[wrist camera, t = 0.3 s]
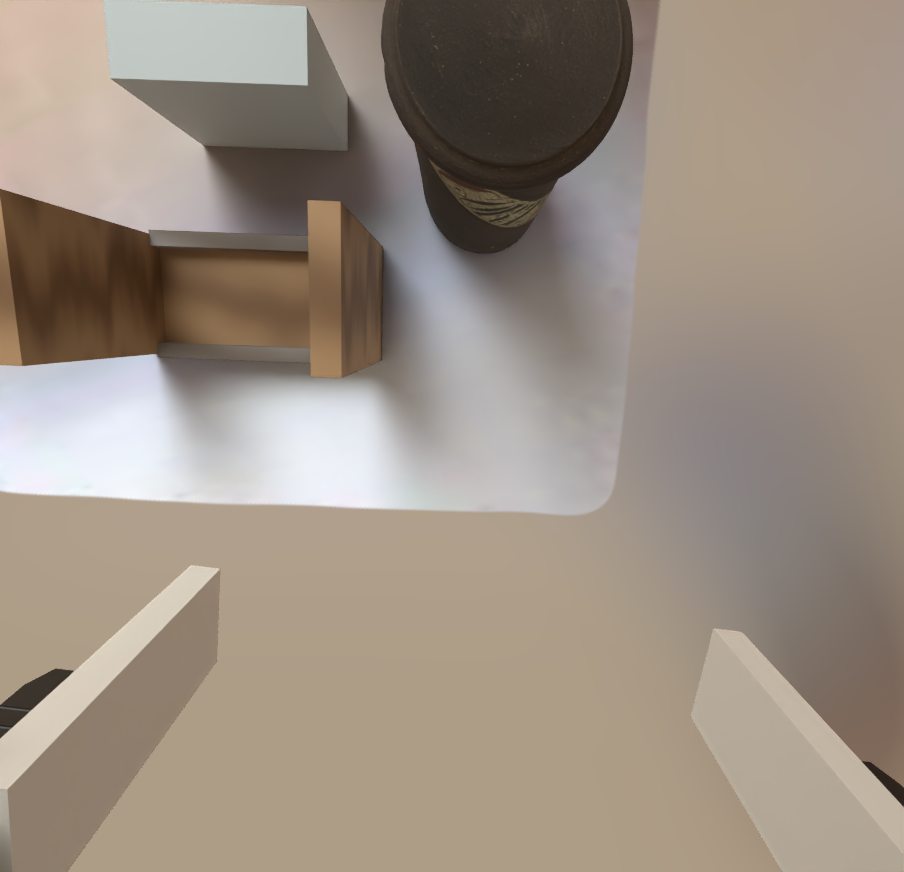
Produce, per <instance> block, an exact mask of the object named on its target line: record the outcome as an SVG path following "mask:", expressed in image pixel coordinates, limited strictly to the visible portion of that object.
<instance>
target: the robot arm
mask: <svg viewBox="0 0 904 872" xmlns="http://www.w3.org/2000/svg"><path fill="white" fill-rule="evenodd" d="M219 591H220V569H219V568H209V567H202V566H194V565H191V566H190V567H188V569H186V570H185V571H184V572H183V573H182V574H181V575H180V576H179V577H177V579H175V580H174V581H173V582H172V583H171V584H170V585H169V586H168V587H167V588H165V589H164V590H163V591H162V592H161V593H160V594H159V595H158V596H157V597H156V598H155V599H153V600H152V601H151V602H150V603H149V604H148V605H147V606H146V607H144V609H142V610H141V611H140V612H139V613H138V614H137V615H136V616H135V617H133V618H132V619H131V620H130V621H129V622H128V623H127V624H126V625H125V626H124V627H123V628H121V629H120V630H119V631H118V632H117V633H116V634H115V635H114V636H113V637H111V639H109V640H108V641H107V642H106V643H105V644H104V645H103V646H102V647H101V648H99V649H98V650H97V651H96V652H95V653H94V654H93V655H92V656H91V657H90V658H88V659H87V660H86V661H85V662H84V663H83V664H82V665H81V666H80V667H79V668H78V669H77V670H75V671H71V670H63V669H54V670H52V671H50V672H48V673H46V674H45V675H43V676H41V677H39V678H37V679H35V680H33V681H31V682H29V683H27V684H25V685H24V686H22V687H21V688H20V689H19V690H18V691H16V692H15V693H14V694H13V695H12V696H11V697H9V698H8V699H7V700H6V701H5V702H3V703H2V704H1V705H0V872H68V870H69V869H70V867H71V866H72V865H73V863H74V862H75V860H76V859H77V858H78V856H79V855H80V853H81V852H82V851H83V849H84V848H85V846H86V845H87V844H88V842H89V841H90V839H91V838H92V837H93V835H94V834H95V832H96V831H97V830H98V828H99V827H100V825H101V824H102V822H103V821H104V820H105V818H106V817H107V815H108V814H109V813H110V811H111V810H112V808H113V807H114V806H115V804H116V803H117V801H118V800H119V798H120V797H121V796H122V794H123V793H124V791H125V790H126V789H127V787H128V786H129V784H130V783H131V782H132V780H133V779H134V777H135V776H136V775H137V773H138V772H139V770H140V769H141V768H142V766H143V765H144V763H145V762H146V760H147V759H148V758H149V756H150V755H151V753H152V752H153V751H154V749H155V748H156V746H157V745H158V744H159V742H160V741H161V739H162V738H163V737H164V735H165V734H166V732H167V731H168V730H169V728H170V727H171V725H172V724H173V723H174V721H175V720H176V718H177V717H178V715H179V714H180V713H181V711H182V710H183V708H184V707H185V706H186V704H187V703H188V701H189V700H190V699H191V697H192V696H193V694H194V693H195V692H196V690H197V689H198V687H199V686H200V684H201V683H202V682H203V680H204V679H205V677H206V676H207V675H208V673H209V672H210V670H211V669H212V668H213V666H214V665H215V663H216V662H217V646H218V619H219ZM691 719H692V721H693V722H694V724H695V725H696V727H697V729H698V731H699V732H700V734H701V736H702V737H703V739H704V741H705V743H706V744H707V746H708V748H709V749H710V751H711V753H712V754H713V756H714V758H715V759H716V761H717V762H718V764H719V766H720V768H721V769H722V771H723V773H724V775H725V776H726V778H727V779H728V781H729V783H730V785H731V786H732V788H733V790H734V791H735V793H736V795H737V796H738V798H739V800H740V802H741V803H742V805H743V807H744V808H745V810H746V812H747V813H748V815H749V817H750V818H751V820H752V822H753V823H754V825H755V826H756V828H757V830H758V832H759V834H760V835H761V837H762V839H763V840H764V842H765V844H766V845H767V847H768V849H769V850H770V852H771V854H772V855H773V857H774V859H775V860H776V862H777V864H778V866H779V867H780V869H781V871H782V872H904V788H903V787H902V786H901V785H900V784H899V783H897V782H896V781H895V780H894V779H892V778H891V777H890V776H888V775H887V774H885V773H884V772H883V771H881V770H880V769H879V768H877V767H876V766H875V765H873V764H872V763H870V762H864V761H861V760H860V759H859V758H858V757H857V756H856V755H855V754H854V753H853V752H852V751H851V750H850V749H849V747H847V745H846V744H845V743H844V742H843V741H842V740H841V739H840V738H839V737H838V736H837V735H836V733H835V732H834V731H833V730H832V729H831V728H830V727H829V726H828V725H827V724H826V723H825V721H823V719H822V718H821V717H820V716H819V715H818V714H817V713H816V712H815V711H814V710H813V709H812V707H811V706H810V705H809V704H808V703H807V702H806V701H805V700H804V699H803V698H802V697H801V695H800V694H799V693H798V692H797V691H796V690H795V689H794V688H793V687H792V686H791V685H790V684H789V682H788V681H787V680H786V679H785V678H784V677H783V676H782V675H781V674H780V673H779V672H778V671H777V669H775V667H774V666H773V665H772V664H771V663H770V662H769V661H768V660H767V659H766V658H765V656H764V655H763V654H762V653H761V652H760V651H759V650H758V649H757V648H756V647H755V646H754V645H753V644H752V643H751V641H750V640H749V639H748V638H747V637H746V636H745V635H744V634H743V633H742V632H739V631H731V630H723V629H715V628H714V629H713V632H712V636H711V640H710V644H709V648H708V652H707V655H706V659H705V663H704V667H703V671H702V674H701V678H700V682H699V686H698V690H697V694H696V698H695V701H694V706H693V709H692V713H691Z"/></svg>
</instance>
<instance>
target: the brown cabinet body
mask: <svg viewBox="0 0 904 872" xmlns="http://www.w3.org/2000/svg"><path fill="white" fill-rule="evenodd" d="M307 204H308V236H299V235H272V234H245V233H219V232H192V231H165V230H149V234H148V233H145V232H141V231H138V230H135V229H131V228H128V227H125V226H121V225H118V224H115V223H111V222H108V221H105V220H102V219H98V218H95V217H92V216H88V215H85V214H82V213H78V212H75V211H72V210H68V209H65V208H62V207H59V206H55V205H52V204H49V203H45V202H42V201H39V200H35V199H32V198H29V197H25V196H22V195H19V194H15V193H12V192H9V191H6V190H2V189H0V365H12V366H27V365H38V364H49V363H60V362H71V361H82V360H93V359H104V358H115V357H127V356H138V355H149V354H158V357H166V358H192V359H219V360H245V361H272V362H298V363H310V368H311V377H330V378H343V377H345V376H347V375H349V374H352V373H354V372H356V371H358V370H361V369H363V368H365V367H367V366H370V365H372V364H374V363H376V362H379V361H381V360H382V303H383V247H382V246H381V245H380V243H379V242H378V241H377V240H376V239H375V238H374V237H373V236H372V235H371V234H370V233H369V232H368V231H367V229H366V228H365V227H364V226H363V225H362V224H361V223H360V222H359V221H358V220H357V219H356V218H355V216H354V215H353V214H352V213H351V212H350V211H349V210H348V209H347V208H346V207H345V206H344V205H343V204H342V202H341V201H318V200H307Z"/></svg>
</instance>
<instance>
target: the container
mask: <svg viewBox="0 0 904 872" xmlns="http://www.w3.org/2000/svg"><path fill="white" fill-rule="evenodd" d="M381 47H382V54H383V58H384V62H385V79H386V83H387V88H388V92H389V95H390V98H391V101H392V103H393V106H394V108H395V110H396V112H397V114H398V117H399V119H400V120H401V122H402V124H403V126H404V127H405V129H406V131H407V132H408V134H409V135H410V137H411V138H412V140H413V141H414V143H415V147H416V152H417V156H418V161H419V165H420V171H421V176H422V181H423V188H424V194H425V199H426V202H427V205H428V208H429V211H430V214H431V216H432V218H433V220H434V222H435V224H436V225H437V227H438V228H439V230H440V231H441V232H442V233H443V234H444V235H445V236H446V237H447V238H448V239H449V240H450V241H451V242H453V243H454V244H456V245H457V246H459V247H461V248H463V249H465V250H468V251H471V252H475V253H485V254H486V253H495V252H499V251H501V250H504V249H506V248H508V247H510V246H511V245H513V244H514V243H516V242H517V241H518V239H519V238H520V237H521V236H522V235H523V234H524V233H525V231H526V230H527V229H528V227H529V226H530V224H531V223H532V221H533V220H534V218H535V216H536V215H537V213H538V211H539V210H540V208H541V206H542V205H543V203H544V201H545V200H546V198H547V196H548V195H549V193H550V192H551V190H552V189H553V187H554V185H555V183H556V182H557V180H558V178H560V177H562V176H564V175H565V174H567V173H569V172H570V171H572V170H573V169H574V168H576V167H577V166H578V165H579V164H581V163H582V162H583V161H584V160H585V159H586V158H587V157H588V156H589V155H590V154H591V153H592V152H593V151H594V150H595V149H596V148H597V146H598V145H599V144H600V143H601V141H602V140H603V139H604V137H605V136H606V134H607V133H608V131H609V129H610V128H611V126H612V124H613V123H614V120H615V118H616V116H617V114H618V112H619V109H620V107H621V105H622V102H623V99H624V96H625V93H626V89H627V86H628V81H629V77H630V71H631V65H632V55H633V33H632V22H631V16H630V11H629V7H628V3H627V0H386V3H385V8H384V13H383V21H382V33H381Z"/></svg>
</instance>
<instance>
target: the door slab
mask: <svg viewBox="0 0 904 872" xmlns="http://www.w3.org/2000/svg"><path fill="white" fill-rule="evenodd" d="M103 1H104V13H105V25H106V37H107V48H108V60H109V72H110V78H111V79H112V80H113V81H115V82H116V83H117V84H119V85H120V86H122V87H123V88H124V89H126V90H127V91H129V92H130V93H131V94H133V95H134V96H136V97H137V98H138V99H140V100H141V101H142V102H144V103H145V104H147V105H148V106H149V107H151V108H152V109H154V110H155V111H156V112H158V113H159V114H160V115H162V116H163V117H165V118H166V119H167V120H169V121H170V122H172V123H173V124H174V125H176V126H177V127H178V128H180V129H181V130H183V131H184V132H185V133H187V134H188V135H190V136H191V137H192V138H194V139H195V140H196V141H198V142H199V143H201V144H202V145H203V146H228V147H255V148H282V149H308V150H335V151H348V94H347V92H346V90H345V88H344V86H343V84H342V81H341V79H340V77H339V75H338V73H337V71H336V69H335V66H334V64H333V62H332V60H331V58H330V56H329V54H328V51H327V49H326V47H325V45H324V43H323V41H322V38H321V36H320V34H319V32H318V30H317V28H316V26H315V23H314V21H313V19H312V17H311V15H310V13H309V11H308V8H307V6H288V5H261V4H234V3H208V2H181V1H154V0H103Z"/></svg>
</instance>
